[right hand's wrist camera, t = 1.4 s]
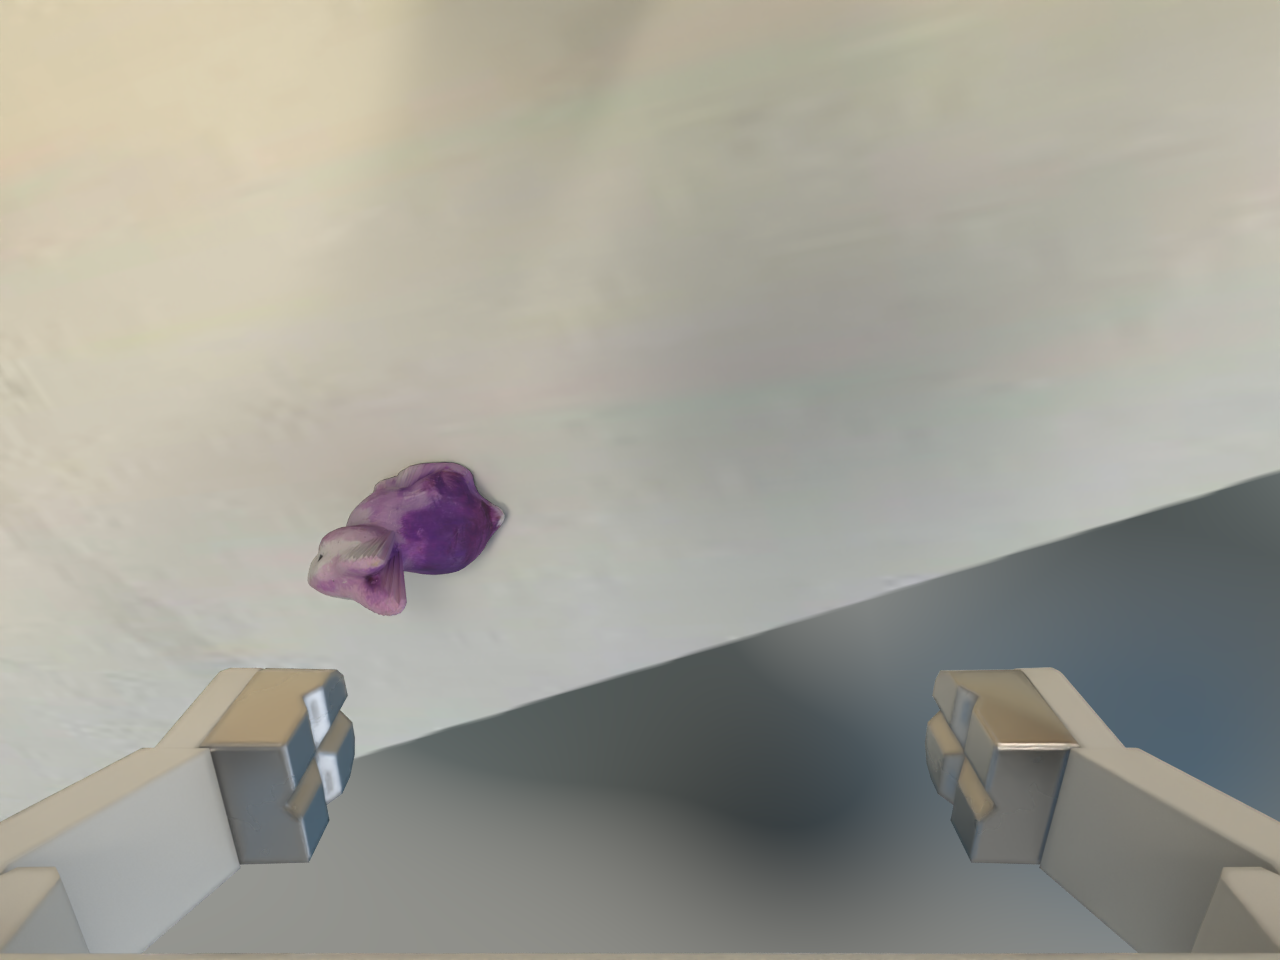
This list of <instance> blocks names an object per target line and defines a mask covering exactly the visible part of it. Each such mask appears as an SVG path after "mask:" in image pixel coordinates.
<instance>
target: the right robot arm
mask: <svg viewBox="0 0 1280 960" xmlns="http://www.w3.org/2000/svg"><path fill="white" fill-rule="evenodd" d="M347 696H348V695H347V690H346V685H345V681H344V676H343V675H342V674H341V673H340V672H339V671H338V670H332V669H286V668H265V669H262V668H228V669H226V670H223V671H220V672H219V673H218V674H217V675H216V676H215V678H214V679H213V680H212V681H211V682H210V683H209V685H208V686H207V687H206V688H205V689H204V690H203V692H202V693H201V694H200V695H199V696H198V697H197V699H196V700H195V701H194V702H193V703H192V704H191V706H190V707H189V708H188V709H187V710H186V711H185V713H184V714H183V715H182V716H181V717H180V718H179V720H178V721H177V722H176V723H175V724H174V726H173V727H172V728H171V729H170V730H169V731H168V733H167V734H166V735H165V736H164V737H163V738H162V740H161V741H160V742H159V743H158V744H157V745H156V747H155V748H141V749H139V750H137V751H136V752H134V753H132V754H130V755H128V756H126V757H124V758H122V759H120V760H118V761H116V762H114V763H113V764H111V765H109V766H107V767H105V768H103V769H101V770H99V771H97V772H95V773H93V774H91V775H89V776H88V777H86V778H84V779H82V780H80V781H78V782H76V783H74V784H72V785H70V786H68V787H66V788H65V789H63V790H61V791H59V792H57V793H55V794H53V795H51V796H49V797H47V798H45V799H43V800H42V801H40V802H38V803H36V804H34V805H32V806H30V807H28V808H26V809H24V810H22V811H20V812H19V813H17V814H15V815H13V816H11V817H9V818H7V819H5V820H3V821H1V822H0V960H1280V822H1278V821H1276V820H1275V819H1273V818H1271V817H1269V816H1267V815H1265V814H1263V813H1261V812H1259V811H1257V810H1255V809H1253V808H1252V807H1250V806H1248V805H1246V804H1244V803H1242V802H1240V801H1238V800H1236V799H1234V798H1232V797H1231V796H1229V795H1227V794H1225V793H1223V792H1221V791H1219V790H1217V789H1215V788H1213V787H1211V786H1209V785H1208V784H1206V783H1204V782H1202V781H1200V780H1198V779H1196V778H1194V777H1192V776H1190V775H1188V774H1186V773H1185V772H1183V771H1181V770H1179V769H1177V768H1175V767H1173V766H1171V765H1169V764H1167V763H1165V762H1164V761H1162V760H1160V759H1158V758H1156V757H1154V756H1152V755H1150V754H1148V753H1146V752H1144V751H1143V750H1141V749H1139V748H1125V747H1124V745H1123V744H1122V743H1121V742H1120V741H1119V740H1118V738H1117V737H1116V736H1115V735H1114V734H1113V733H1112V731H1111V730H1110V729H1109V728H1108V727H1107V726H1106V724H1105V723H1104V722H1103V721H1102V720H1101V719H1100V717H1099V716H1098V715H1097V714H1096V713H1095V712H1094V710H1093V709H1092V708H1091V707H1090V706H1089V705H1088V703H1087V702H1086V701H1085V700H1084V699H1083V698H1082V696H1081V695H1080V694H1079V693H1078V692H1077V691H1076V689H1075V688H1074V687H1073V686H1072V685H1071V684H1070V682H1069V681H1068V680H1067V679H1066V678H1065V676H1064V675H1063V674H1062V673H1061V672H1060V671H1058V670H1056V669H1054V668H1019V669H1014V670H940V672H939V674H938V676H937V678H936V680H935V684H934V689H933V695H932V696H933V698H934V699H935V701H936V703H937V705H938V707H939V709H940V711H939V712H938V713H937V714H936V715H935V716H934V717H933V718H932V719H931V720H930V721H929V722H928V724H927V731H926V739H925V749H926V761H927V766H928V770H929V773H930V777H931V780H932V782H933V784H934V786H935V789H936V791H937V793H938V794H939V795H940V796H942V797H943V798H944V799H946V800H947V801H949V802H950V803H951V804H953V810H952V816H951V822H952V824H953V826H954V828H955V830H956V832H957V834H958V836H959V838H960V840H961V842H962V845H963V846H964V848H965V851H966V853H967V855H968V857H969V859H970V861H971V862H973V863H1008V864H1040V868H1041V869H1042V870H1043V871H1044V872H1045V873H1046V874H1047V875H1049V876H1050V877H1051V878H1052V879H1053V880H1054V881H1055V882H1057V883H1058V884H1059V885H1060V886H1061V887H1062V888H1064V889H1065V890H1066V891H1067V892H1068V893H1069V894H1071V895H1072V896H1073V897H1074V898H1075V899H1076V900H1078V901H1079V902H1080V903H1081V904H1082V905H1083V906H1084V907H1086V908H1087V909H1088V910H1089V911H1090V912H1091V913H1093V914H1094V915H1095V916H1096V917H1097V918H1098V919H1100V920H1101V921H1102V922H1103V923H1104V924H1105V925H1107V926H1108V927H1109V928H1110V929H1111V930H1112V931H1113V932H1115V933H1116V934H1117V935H1118V936H1119V937H1120V938H1122V939H1123V940H1124V941H1125V942H1126V943H1127V944H1129V945H1130V946H1131V947H1132V948H1133V949H1134V950H1136V951H1137V952H1138V953H142V952H143V951H145V950H146V949H147V948H148V947H149V946H150V945H152V944H153V943H154V942H155V941H156V940H157V939H159V938H160V937H161V936H162V935H163V934H164V933H166V932H167V931H168V930H169V929H170V928H171V927H173V926H174V925H175V924H176V923H177V922H178V921H180V920H181V919H182V918H183V917H184V916H185V915H187V914H188V913H189V912H190V911H191V910H192V909H193V908H195V907H196V906H197V905H198V904H199V903H200V902H202V901H203V900H204V899H205V898H206V897H207V896H209V895H210V894H211V893H212V892H213V891H214V890H215V889H217V888H218V887H219V886H220V885H221V884H223V883H224V882H225V881H226V880H227V879H228V878H229V877H231V876H232V875H233V874H234V873H235V872H236V871H238V870H239V869H240V864H271V863H304V862H309V861H310V859H311V857H312V855H313V853H314V851H315V849H316V847H317V845H318V843H319V841H320V838H321V836H322V834H323V832H324V830H325V828H326V826H327V824H328V822H329V816H328V810H327V804H329V803H330V802H331V801H333V800H334V799H335V798H337V797H338V796H340V795H341V794H342V793H343V791H344V788H345V786H346V784H347V782H348V780H349V778H350V774H351V769H352V764H353V760H354V755H355V736H354V730H353V724H352V722H351V721H350V720H349V719H348V718H347V717H346V716H345V715H344V714H343V713H342V712H341V711H340V709H341V707H342V705H343V703H344V701H345V699H346V698H347Z"/></svg>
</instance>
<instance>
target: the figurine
mask: <svg viewBox="0 0 1280 960" xmlns="http://www.w3.org/2000/svg"><path fill="white" fill-rule="evenodd" d="M504 518H505V516H504V513H503V511H502V510H501V509H500V508H499V507H498V506H496V505H494V504H492V503H491V502H489V501H488V500H486V499H485V498H483V497H482V496H481V495H480V494H479V493H478V491H477V489H476V487H475V485H474V481H473V475H472V474H471V472H470V471H469V470H468V469H467V468H465V467H463V466H461V465H459V464H456V463H446V462H443V463H423V464H418V465H413V466H409V467H408V468H406V469H404V470H402V471H401V472H400V473H399V474H398V476H394V477H393V478H389V479H385V480H383V481H380V482H379V483H377V484H376V486H375V487H374V491H373V493H372V494H371V495H369V496H368V497H367V498H366V499H364V500H363V501H362V502H361V503H360V504H359V505H358V506H357V507H356V508H355V509H354V510H353V512H352V513H351V515H350V517H349V519H348V522H347V525H346V527H341V528H338V529H336V530H334V531H332V532H330V533H328V534H327V535H326V536H325V537H324V538H323V539H322V541H321V543H320V545H319V552H318V555H317V556H316V557H315V558H314V560H313V561H312V563H311V565H310V569H309V573H308V583H309V585H310V586H311V587H313V588H314V589H316V590H317V591H319V592H321V593H323V594H325V595H328V596H332V597H336V598H342V599H348V600H354V601H356V602H358V603H360V604H361V605H363V606H364V607H365V608H368V609H369V610H371V611H373V612H374V613H378V614H381V615H383V616H384V615H387V616H392V615H397V614H399V613H401V612H402V611H403V609H404V608H405V606H406V603H407V601H406V591H405V581H404V571H408V572H414V573H420V574H430V575H438V574H447V573H453V572H456V571H459V570H461V569H463V568H464V567H466V566H467V565H468V564H470V563H471V562H472V561H473V560H475V559H476V558H477V557H478V556H479V555H480V553H481V552H482V551H483V549H484V548H485V546H486V544H487V542H488V541H489V539H490V538H491V536H492V535H493V534H494V532H495V531H496V530H497V529H498V528H499V527H500V526H501V525H502V523H503V521H504Z"/></svg>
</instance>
